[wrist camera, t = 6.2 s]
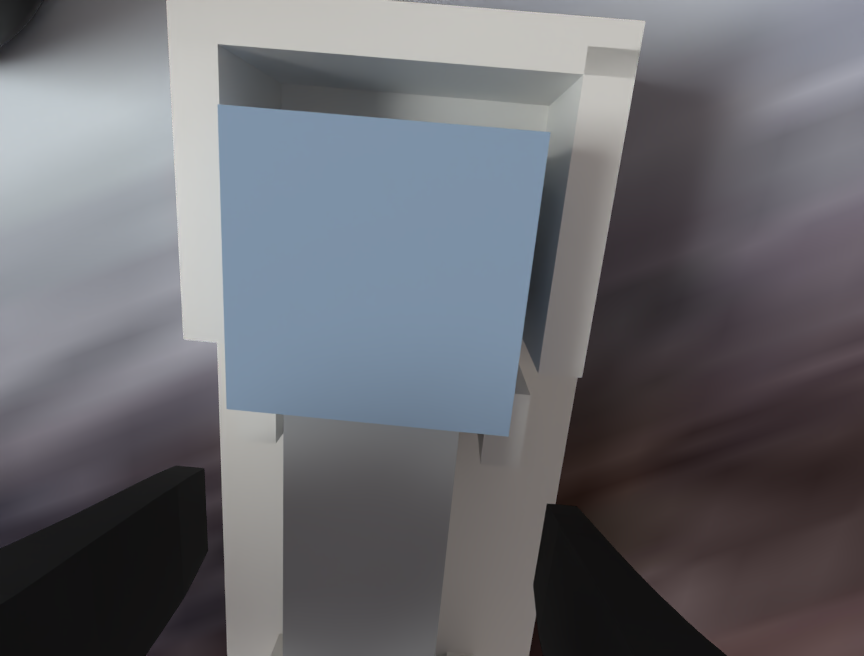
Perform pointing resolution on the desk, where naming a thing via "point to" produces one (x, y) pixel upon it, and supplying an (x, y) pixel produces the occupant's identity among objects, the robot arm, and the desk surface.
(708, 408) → the desk surface
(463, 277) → the blue-capped grey bar
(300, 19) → the slider rail
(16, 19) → the supplement bottle
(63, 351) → the desk surface
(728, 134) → the desk surface
